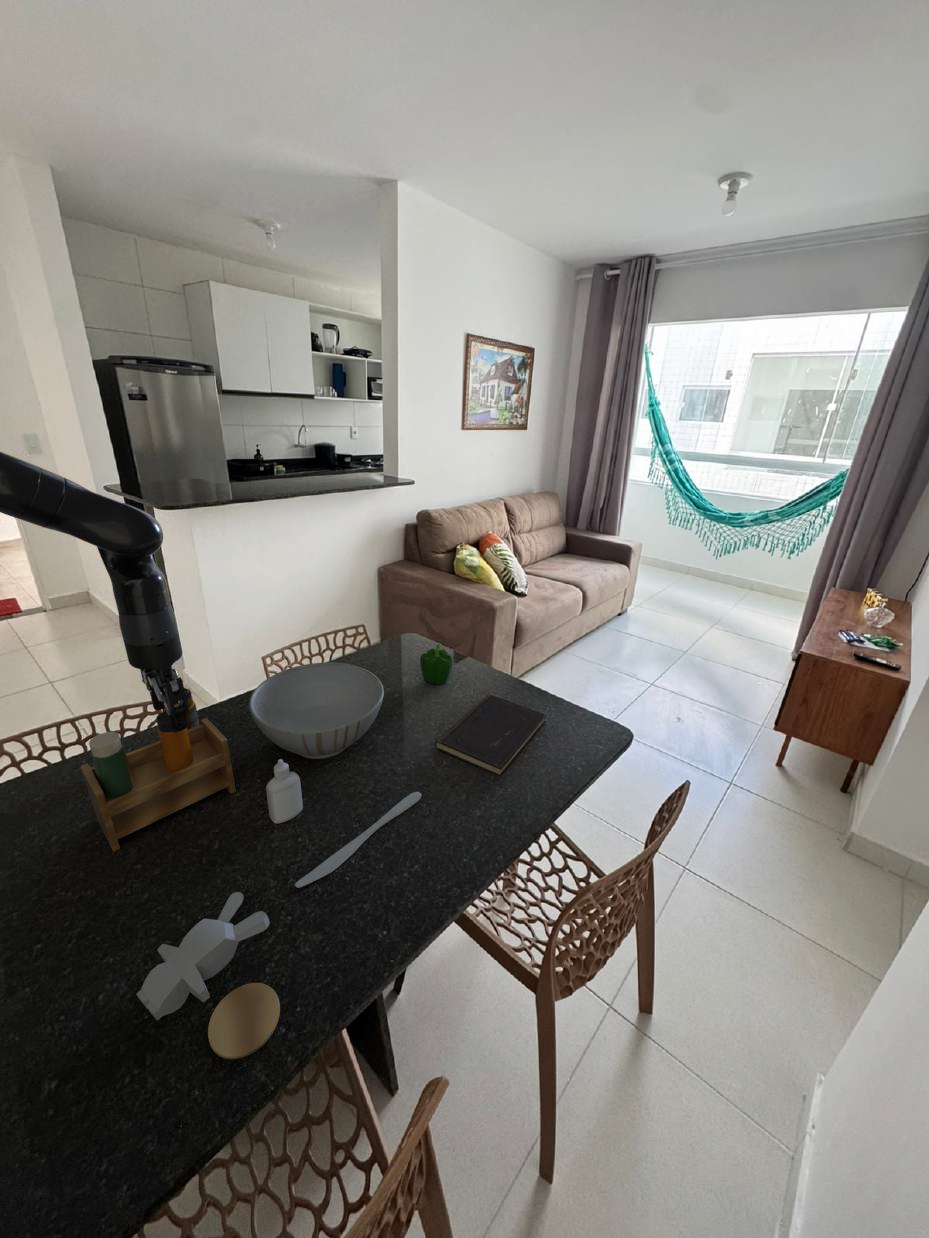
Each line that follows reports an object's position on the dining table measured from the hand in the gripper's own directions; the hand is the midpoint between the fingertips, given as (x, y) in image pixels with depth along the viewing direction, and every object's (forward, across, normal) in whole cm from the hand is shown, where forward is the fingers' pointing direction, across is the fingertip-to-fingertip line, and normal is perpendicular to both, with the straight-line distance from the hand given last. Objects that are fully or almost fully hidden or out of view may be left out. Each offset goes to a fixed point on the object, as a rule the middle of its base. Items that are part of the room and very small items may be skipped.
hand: (170, 718), depth 87 cm
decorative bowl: (+18, +2, +27) cm, 32 cm away
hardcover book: (+18, +26, +56) cm, 64 cm away
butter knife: (+18, +30, +18) cm, 39 cm away
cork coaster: (+17, +42, -9) cm, 47 cm away
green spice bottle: (+9, 0, -10) cm, 13 cm away
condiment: (+18, -16, +6) cm, 25 cm away
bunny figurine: (+18, +33, -10) cm, 38 cm away
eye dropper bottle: (+18, +16, +11) cm, 26 cm away
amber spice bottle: (+9, 0, 0) cm, 9 cm away
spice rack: (+17, 0, -3) cm, 18 cm away
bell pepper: (+18, 0, +63) cm, 65 cm away
